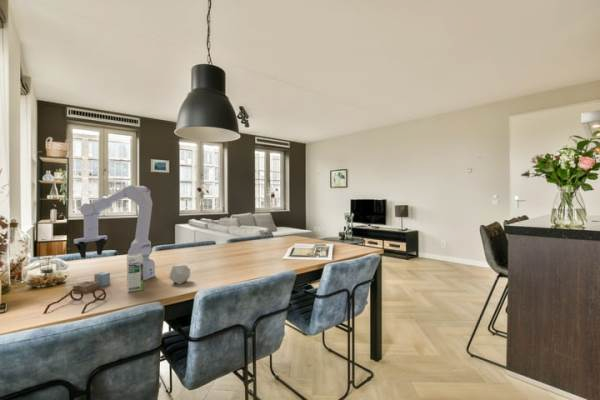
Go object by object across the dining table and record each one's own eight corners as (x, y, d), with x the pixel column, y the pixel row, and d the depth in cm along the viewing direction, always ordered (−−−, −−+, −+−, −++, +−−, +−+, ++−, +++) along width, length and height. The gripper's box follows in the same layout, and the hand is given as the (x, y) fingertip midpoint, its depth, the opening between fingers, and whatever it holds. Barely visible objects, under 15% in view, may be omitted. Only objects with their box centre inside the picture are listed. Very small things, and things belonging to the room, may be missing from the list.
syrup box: (127, 292, 118) (127, 256, 117) (127, 288, 123) (126, 254, 122) (143, 290, 121) (143, 255, 120) (142, 286, 126) (142, 252, 125)
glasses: (107, 300, 110) (107, 287, 110) (82, 314, 97) (82, 299, 96) (71, 301, 109) (71, 287, 109) (41, 315, 96) (41, 300, 96)
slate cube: (109, 283, 130) (109, 272, 130) (102, 286, 126) (102, 274, 126) (102, 283, 130) (102, 272, 130) (94, 285, 126) (94, 274, 126)
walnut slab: (98, 289, 123) (98, 282, 123) (86, 293, 117) (85, 286, 117) (86, 288, 124) (86, 281, 124) (73, 293, 118) (73, 285, 118)
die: (194, 284, 131) (194, 263, 137) (180, 278, 124) (181, 257, 130) (178, 289, 133) (179, 269, 139) (164, 284, 126) (165, 263, 132)
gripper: (100, 226, 149) (100, 252, 149) (69, 229, 135) (69, 258, 136) (109, 226, 147) (110, 253, 147) (79, 230, 133) (79, 259, 133)
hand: (91, 256), depth 141 cm, fingers open, 7 cm apart
